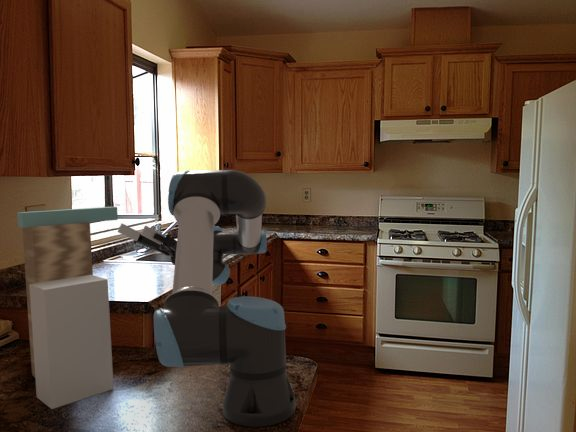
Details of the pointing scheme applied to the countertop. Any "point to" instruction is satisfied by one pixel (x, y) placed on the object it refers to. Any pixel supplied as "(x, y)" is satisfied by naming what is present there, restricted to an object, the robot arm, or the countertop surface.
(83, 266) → the oak block
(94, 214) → the teal block
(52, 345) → the step block
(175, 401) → the countertop surface
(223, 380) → the countertop surface
